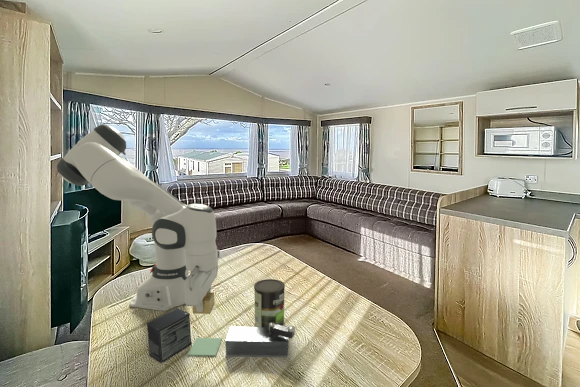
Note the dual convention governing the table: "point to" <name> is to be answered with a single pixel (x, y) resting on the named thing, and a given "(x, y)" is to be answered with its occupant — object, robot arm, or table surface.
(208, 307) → the wooden cube with knob
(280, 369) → the table surface
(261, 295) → the coffee can
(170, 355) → the small box
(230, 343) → the body
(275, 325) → the lever
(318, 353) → the table surface
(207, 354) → the mat
